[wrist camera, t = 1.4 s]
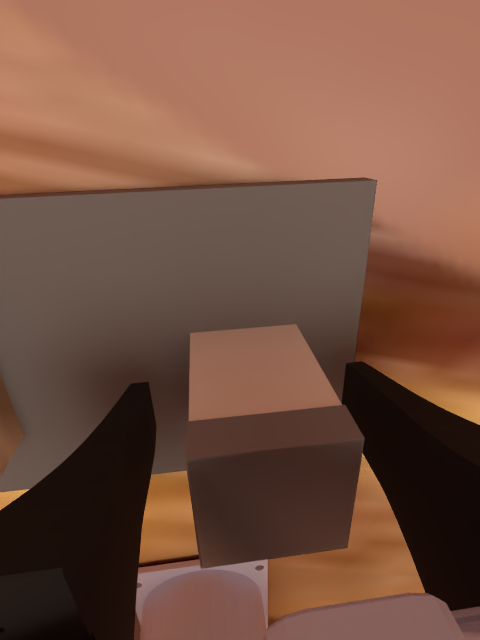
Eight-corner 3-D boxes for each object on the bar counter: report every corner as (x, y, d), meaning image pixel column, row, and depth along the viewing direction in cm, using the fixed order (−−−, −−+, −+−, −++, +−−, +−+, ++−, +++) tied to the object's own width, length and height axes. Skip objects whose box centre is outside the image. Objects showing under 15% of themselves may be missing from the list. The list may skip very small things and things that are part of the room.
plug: (294, 408, 15) (346, 547, 10) (198, 418, 15) (200, 568, 10) (297, 322, 14) (364, 438, 8) (188, 331, 13) (185, 459, 8)
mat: (335, 436, 18) (342, 451, 17) (-147, 491, 16) (-167, 511, 15) (364, 177, 13) (377, 180, 12) (-354, 212, 11) (-405, 218, 10)
